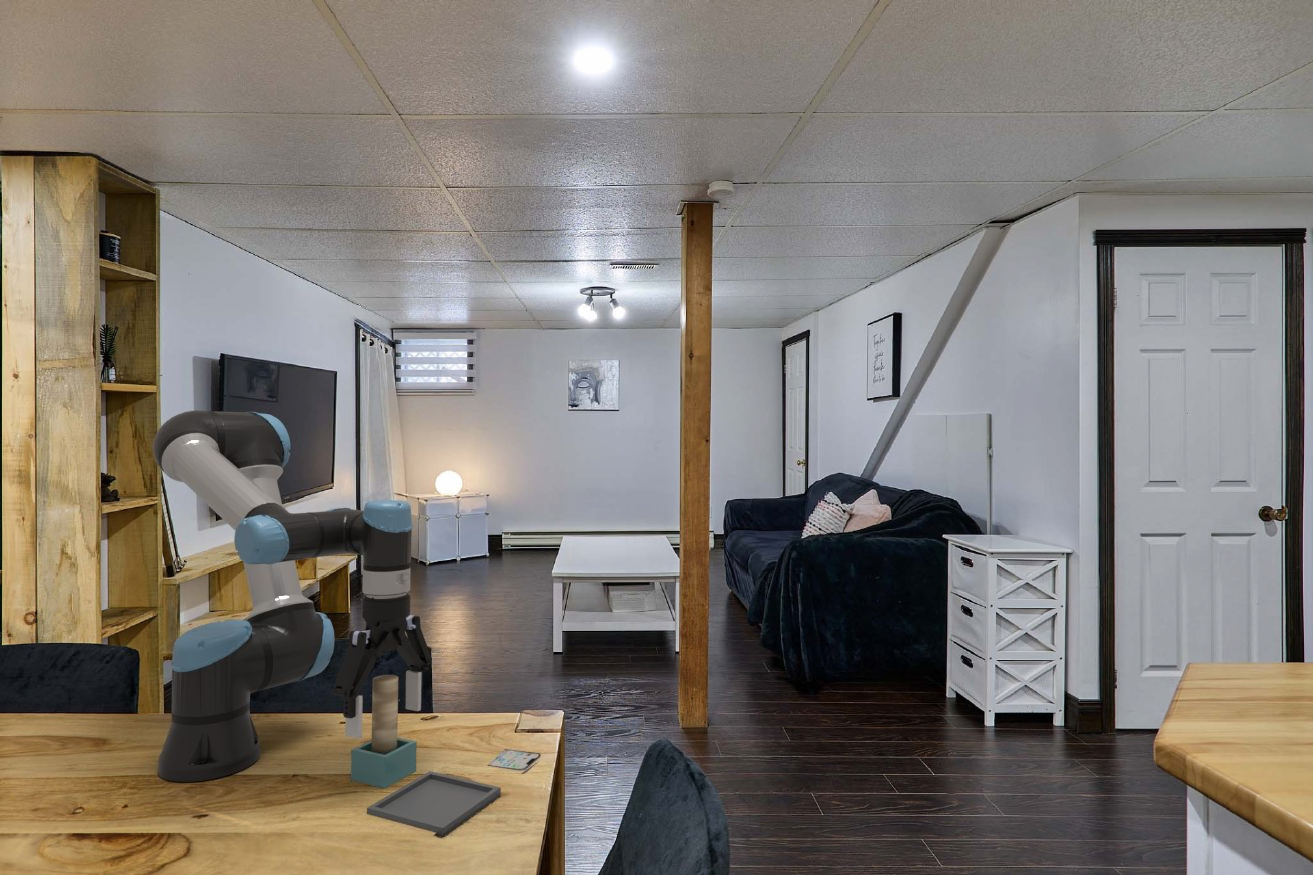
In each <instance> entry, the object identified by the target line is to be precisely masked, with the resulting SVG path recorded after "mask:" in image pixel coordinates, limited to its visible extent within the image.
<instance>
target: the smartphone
mask: <svg viewBox="0 0 1313 875" xmlns="http://www.w3.org/2000/svg"><path fill="white" fill-rule="evenodd" d="M540 758H541V753H539V752H533V751H532V752H531V751H524V750H514V749H507V748H504V749H503V750H502V751H501V752H500V753H499V754H498V755H497V756H496V757H495V758H494V759H492V761H490V763H489V764H487V766H488V767H494V768H498V769H499V768H500V769H504V770H505V769H506V770H512V771H520V772H522V771H523V772H522V773H520V775H524V774H526V773H527V772H528V771H530V770H531V769H532V768H533V767H535V765H537V764H538V763H539V762H540V761H537V760H539V759H540ZM536 761H537V762H536ZM534 763H535V764H534Z"/></svg>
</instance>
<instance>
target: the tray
mask: <svg viewBox="0 0 1313 875" xmlns="http://www.w3.org/2000/svg"><path fill="white" fill-rule="evenodd" d="M501 790H502V789H501V786H496V785H492V784H487V783H483V782H479V781H474V780H470V779H466V778H463V777H462V778H461V777H457V776H454V775H448V774H444V773H439V772H436V771H430V770H429V771H428V772H426V773H424V774H423V775H421V776H419V777H417V778H416V779H414V780H412V781H411V782H409V783H406V784H405V785H404V786H402V787H400V788H399V789H397V790H395V791H394V792H391V793H390V794H388V795H386V796H385V797H383V798H381V799H380V800H378V801H376V802H374V803H372V804H371V805H369V806H367V807H366V814H367V815H370V816H373V817H374V816H375V817H379V818H382V819H385V820H389V821H393V822H396V823H400V824H405V825H408V826H412V827H415V828H418V829H419V828H420V829H423V830H426V831H430V832H434V833H433V835H432V836H434V837H438V838H442V839H443V838H445V837H446V836H448V835H449V834H450V833H452V832H453V831H454V830H456V829H457V828H458V827H459V828H460V826H461V825H463V824H464V823H465V822H467V821H468V820H470V819H472V817H474V816H476V815H477V814H478V813H479V812H481V811H482V810H483V809H485V808H486V807H489V805H491V804H492V803H493V802H495V801H496V800H498V799H499V798H501V795H502V794H501V793H502V792H501Z"/></svg>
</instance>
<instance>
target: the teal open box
mask: <svg viewBox="0 0 1313 875" xmlns="http://www.w3.org/2000/svg"><path fill="white" fill-rule="evenodd" d="M417 743H418V741H416V740H411V739H406V738H402V737H398V736H397V749H396V750H394V751H392V752H390V753H388V754H386V755H384V754H379V753H375V752H371V751H372V739H371V740H368V741H367V742H365V743H363V744H361V745H359V746H356V747H354V748H351V749H350V750H351V753H350V754H351V755H350V781H353V782H356V783H361V784H365V785H369V786H373V787H378V788H381V789H387V788H389V787H391V786H393V785H394V784H396V783H397V782H399V781H401V780H403V779H405V778H407V777H408V776H410V775H412V774H413V773H416V772H417V747H418V746H417Z"/></svg>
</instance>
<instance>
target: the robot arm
mask: <svg viewBox="0 0 1313 875" xmlns="http://www.w3.org/2000/svg"><path fill="white" fill-rule="evenodd" d="M290 450H291V440H290V436H289V433H288V430H287V428H286V426H285V425H284V424H283V422H281V421H280V419H278V418H277V417H275V416H273V415H272V414H269V413H268V414H267V413H261V412H260V413H259V412H256V411H246V412H243V411H241V412H240V411H214V410H213V411H212V410H200V409H199V410H187V411H184V412H181V413H178V414H176V415H174V416H172V417H170V418H168V419H167V420H166V421H165V422H164V423H162V425H161V426H160V428H159V429H158V430H157V432H156V434H155V436H154V438H153V442H152V454H153V458H154V461H155V463H156V465H157V466H158V467H159V469H160V470H161V471H162V472H163V473H164V474H165V475H166V476H167V477H169V478H170V479H171V480H174V481H176V482H181V483H184V484H185V485H186V486H187V487H188V488H189V489H190V490H191V491H192V492H193V493H195V495H197V497H199V498H200V499H201V500H202V501H203V502H204V503H205V504H206V505H207V506H208V507H209V508H210V509H212V511H214V512H215V513H216V514H217V515H218V516H219V517H220V518H221V519H222V520H223V521H224V522H226V524H227V525H228V526H230V528H232V529H233V530H234V537H233V538H234V539H233V540H234V547H235V548H234V549H235V550H236V551H237V555H238V558H239V559H240V561H242V563H243V567H244V572H245V576H246V581H247V586H248V590H249V594H250V595H249V596H250V601H251V605H252V609H251V611H250V613H249V614H248V616H247V617H246V619H245V620H244V619H227V620H224V621H214V622H209V623H205V624H202V625H198V626H196V627H193V628H191V629H189V630H187V631H185V632H184V633H182V634H181V635H180V636H179V637H178V638H177V639H176V640H175V641H174V644H173V651H172V660H171V663H170V668H171V721H170V722H171V723H170V724H171V725H170V727H169V730H168V732H167V736H166V738H165V741H164V744H163V747H162V750H161V753H160V754H159V757H158V761H157V762H158V763H157V764H158V765H157V774H158V775H159V777H160V778H161V779H164V780H166V781H171V782H178V783H179V782H180V783H182V782H183V783H187V782H188V783H191V782H203V781H207V780H208V781H209V780H215V779H218V778H222V777H227V776H229V775H234V774H236V773H238V772H241V771H243V770H245V769H247V768H249V767H250V766H252V765H254V764H255V763H256V762H257V761H258V760H259V759H260V756H261V742H260V741H261V740H260V739H259V737H258V733H257V730H256V727H255V725H254V721H253V718H252V716H251V713H250V712H251V711H250V705H251V704H250V700H251V697H250V696H251V694H253V693H255V692H260V691H263V690H266V689H267V690H268V689H272V688H275V687H278V686H282V685H287V684H291V683H294V682H298V683H299V682H301V681H304V680H305V679H308V678H311V677H314V676H317V675H318V674H320V673H322V672H323V671H324V670H325V669H326V668H327V666H328V665H329V662H330V661H331V657H332V656H333V653H334V649H335V630H334V627H333V624H332V621H331V619H330V618H328V616H327V614H325V613H323V612H317V611H316V609H315V606H314V601H313V600H311V599H309V598H307V597H305V596H304V595H303V592H302V591H303V590H302V588H301V583H300V578H299V575H298V569H297V565H296V561H297V560H298V561H299V560H305V559H313V558H322V557H328V556H329V557H330V556H338V555H339V556H340V555H346V554H347V555H349V554H350V555H359V556H362V557H363V559H362V560H363V561H362V562H363V563H362V593H363V594H364V597H362V605H361V607H362V608H361V610H362V612H361V613H362V615H361V616H362V618H363V620H364V622H365V629H364V630H363V631H361V630H350V632H349V635H348V645H347V648H346V651H345V653H344V658H343V659H342V662H341V665H340V667H339V671H338V674H337V676H336V680H335V681H334V685H333V688H332V690H331V693H332V695H334V696H337V697H341V698H343V701H342V703H343V704H342V705H343V706H342V707H343V709H342V710H343V711H342V715H343V717H344V718H345V725H344V727H345V730H344V731H345V736H344V737H348V738H352V739H356V740H357V739H358V740H359V739H361V738H362V737H363V695H361V694H360V692H361V690H362V689H363V686H364V684H365V683H366V681H367V679H368V678H369V675H370V674H371V671H372V669H373V667H374V665H375V664H376V661H377V660H378V659H379V658H382V655H383V654H386V653H388V652H390V651H392V650H393V651H395V650H396V651H397V653H398V654H399V655H400V657H401V658H402V659H403V661H404V662H405V664H406V665H407V667H408V668H409V669H410V670H407V671H405V710H409V711H413V712H419V711H421V710H422V689H423V685H424V683H423V681H424V680H423V679H424V677H423V676H424V673H423V672H427V671H429V665H431V664H432V663H433V662H432V661H433V658H432V655H431V653H430V650H429V647H428V644H427V642H426V639H425V636H424V634H423V630H422V628H421V617H420V616H418V615H414V614H412V615H411V595H410V594H409V593H408V592H410V591H411V567H412V565H411V564H412V563H411V562H412V537H413V536H412V534H413V532H412V531H413V530H412V529H413V520H412V507H411V506H412V505H411V504H410V503H409V502H408V501H406V500H398V499H396V500H392V499H382V500H381V499H379V500H378V499H377V500H370V501H369V500H368V501H367V502H366V503H365V504H364V506H363V510H361V509H360V510H359V509H353V508H349V507H337V508H329V509H327V510H324V511H323V510H322V511H310V512H309V511H308V512H297V513H296V512H294V513H292V512H289V511H288V510H287V509H286V508H285V507H283V506H284V505H283V502H282V499H281V493H280V489H279V486H278V485H279V484H278V480H279V478H280V477H281V475H282V474H283V473H284V469H283V468H284V467H285V466H286V465H287V464H288V462H289V460H290V457H291V452H290Z"/></svg>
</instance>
